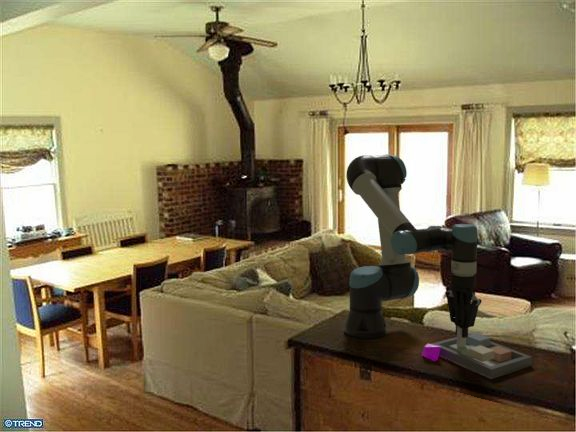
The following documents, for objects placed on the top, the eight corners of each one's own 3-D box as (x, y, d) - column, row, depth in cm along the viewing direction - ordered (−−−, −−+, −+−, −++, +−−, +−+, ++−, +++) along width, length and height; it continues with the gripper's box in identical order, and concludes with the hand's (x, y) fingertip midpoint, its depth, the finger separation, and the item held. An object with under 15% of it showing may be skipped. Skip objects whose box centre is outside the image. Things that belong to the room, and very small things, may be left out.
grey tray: (431, 352, 178) (431, 343, 177) (469, 341, 187) (470, 333, 186) (491, 379, 157) (491, 369, 157) (531, 366, 166) (531, 356, 165)
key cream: (468, 356, 167) (468, 348, 167) (480, 352, 170) (480, 345, 169) (482, 362, 162) (482, 354, 162) (494, 358, 165) (494, 350, 165)
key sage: (448, 353, 174) (449, 345, 174) (460, 350, 177) (460, 342, 176) (461, 358, 170) (461, 351, 169) (473, 355, 172) (473, 347, 172)
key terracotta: (486, 356, 171) (486, 349, 171) (497, 353, 174) (497, 345, 173) (500, 362, 167) (500, 354, 166) (511, 358, 169) (511, 351, 169)
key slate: (466, 343, 178) (466, 335, 177) (477, 340, 180) (477, 333, 180) (479, 348, 173) (479, 340, 173) (490, 345, 176) (490, 337, 176)
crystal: (436, 354, 176) (437, 341, 175) (441, 361, 170) (442, 347, 170) (420, 355, 176) (421, 341, 175) (425, 361, 170) (425, 347, 170)
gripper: (439, 271, 173) (437, 342, 176) (471, 279, 162) (469, 355, 165) (456, 268, 177) (454, 337, 180) (488, 276, 166) (486, 350, 169)
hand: (461, 346), depth 173 cm, fingers closed
